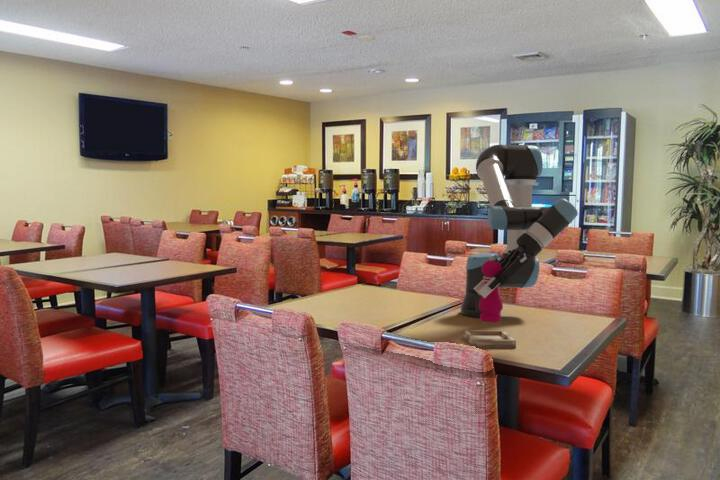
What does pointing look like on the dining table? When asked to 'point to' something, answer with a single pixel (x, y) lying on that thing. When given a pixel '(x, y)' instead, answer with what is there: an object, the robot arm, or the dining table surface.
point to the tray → (489, 339)
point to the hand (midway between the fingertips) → (479, 293)
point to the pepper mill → (491, 294)
